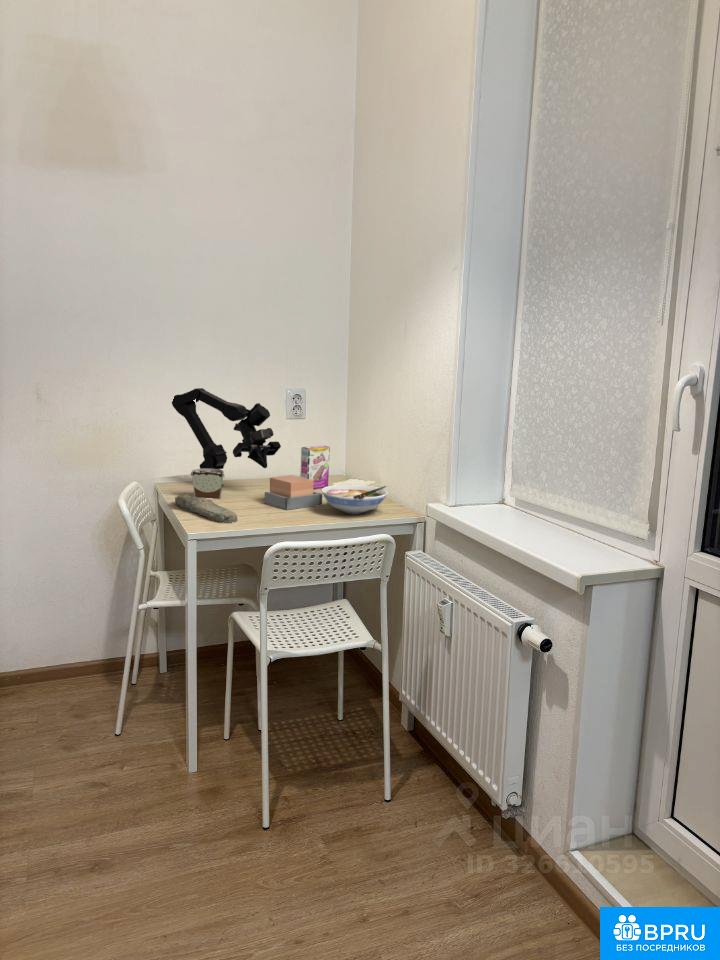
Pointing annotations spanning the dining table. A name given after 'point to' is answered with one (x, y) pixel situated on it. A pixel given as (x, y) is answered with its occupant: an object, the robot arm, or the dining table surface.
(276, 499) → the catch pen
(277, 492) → the tile stack
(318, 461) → the candy bar box
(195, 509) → the elongated rock
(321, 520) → the dining table surface
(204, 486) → the food container
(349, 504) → the ramen bowl
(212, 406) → the robot arm
